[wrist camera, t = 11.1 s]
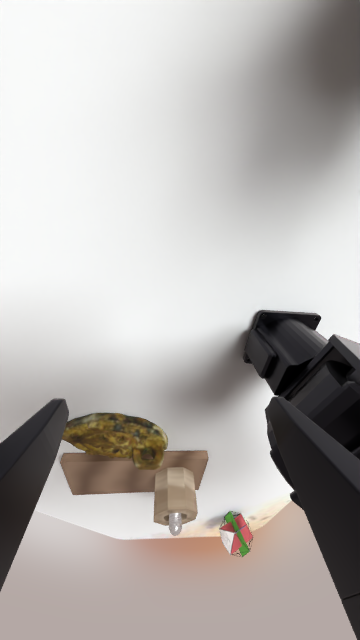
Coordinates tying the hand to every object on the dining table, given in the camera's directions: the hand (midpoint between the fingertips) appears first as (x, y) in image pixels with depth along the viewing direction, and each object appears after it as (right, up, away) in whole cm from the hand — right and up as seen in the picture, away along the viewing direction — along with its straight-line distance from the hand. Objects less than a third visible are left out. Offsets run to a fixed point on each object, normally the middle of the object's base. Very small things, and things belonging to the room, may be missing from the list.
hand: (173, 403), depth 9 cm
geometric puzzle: (+13, -43, +38) cm, 59 cm away
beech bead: (-1, -23, +24) cm, 33 cm away
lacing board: (-7, -22, +25) cm, 33 cm away
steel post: (-1, -23, +24) cm, 33 cm away
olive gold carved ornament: (-9, -12, +20) cm, 25 cm away
